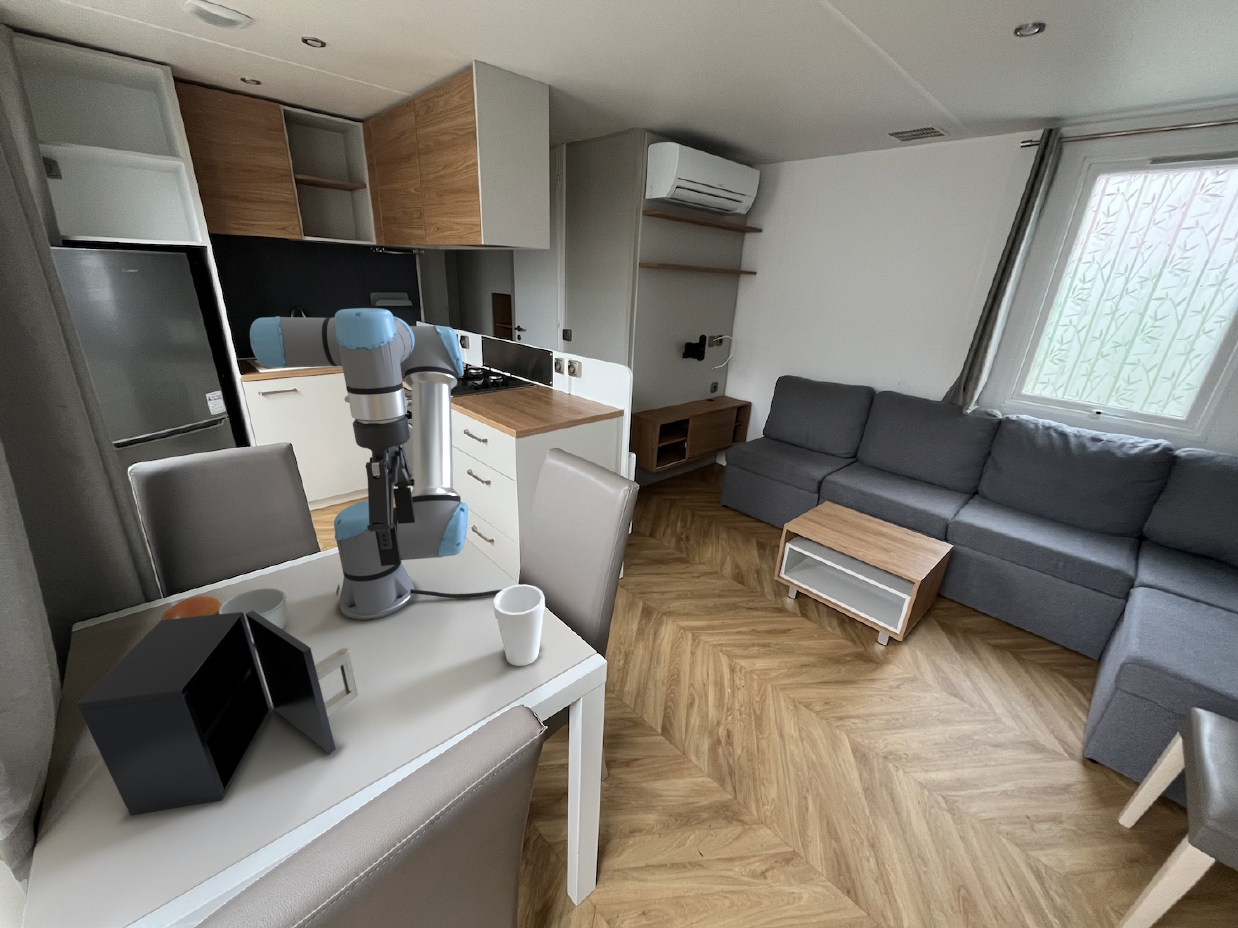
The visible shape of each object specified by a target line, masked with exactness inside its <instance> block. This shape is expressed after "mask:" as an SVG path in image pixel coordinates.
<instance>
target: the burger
mask: <svg viewBox="0 0 1238 928" xmlns="http://www.w3.org/2000/svg"><path fill="white" fill-rule="evenodd" d="M222 604H223V603H222V602H221V600H220V599H219V598H216V597H214V596H208V595H198V596H193V597H189V598H186V599H184V600H182V601H180V602H178V603H176V604H174V605H172V606H171V607H169V608H168V609H166V611H164V613H162V615H161V617H160V621H161V620H168V619H178V618H187V617H197V616H207V615H217V614H219V609H220V607H221V605H222Z"/></svg>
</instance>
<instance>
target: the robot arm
mask: <svg viewBox="0 0 1238 928" xmlns="http://www.w3.org/2000/svg"><path fill="white" fill-rule="evenodd" d="M249 340H250V347H251V350H252V352H253V355H254V356H255V358H256V359H257V361H258V362H259V363H260V364H262V365H263V366H265V367H271V368H283V369H287V368H342V371H343V377H344V382H345V389H346V392H347V395H345V397H344V399H343V400H344V402H346V403H349V409H350V415H351V417H352V418H353V419H354V420H353V422H352V428H353V434H354V439H355V444H356V445H357V446H358V447H360V448H362V449H368V450H370V451H371V456H370V457H369V461H367V462H366V463H365V470H366V477H367V478H366V479H367V497H368V498H367V499H365V500H361V501H359V502H356V503H353V504H350V505H349V506H347V507H345V508H344V509H342V510H341V511H339V513H337V515H336V516H335V517H334V520H333V527H334V528H333V529H334V539H335V541H336V545H337V550H338V555H339V559H340V564H341V568H342V573H343V580H342V585H341V586H340V583H338V584H337V587H336V591H335V594H336V598H338V596H339V595H340V596H339V607H340V611H341V613H342V614H343V615H344V616H345V617H346V618H349V619H352V620H355V621H356V620H357V621H370V620H377V619H381V618H384V617H387V616H390V615H392V614H393V615H394V614H395V613H397V612H399V611H400V610H402V609H404V608H405V607H406V606H408V604H410V603H411V602H412V601H413V598H414V596H415V595H422V596H432V597H440V598H446V599H469V598H470V599H471V598H481V597H488V596H494V595H495V596H496V594H497V593H499V592H500V591H502V590H503V589H496V590H495V589H494V590H490V591H489V590H487V591H482V592H471V593H446V592H438V591H431V590H422V589H420V590H419V589H415V585H414V582H413V580H412V578H411V576H410V575H409V573H408V572H407V570H406V568H405V567H404V565H403V563H402V561H411V560H422V559H435V558H436V559H437V558H439V559H441V558H443V557H453V556H457V555H459V554H460V553H461V552H462V551H463V549H464V548H465V545H466V539H467V533H468V525H469V506H468V504H467V503H466V502H465V501H464V502H463V501H462V500H461V498H462V497H461V494H460V493H458V492H457V491H456V490H455V489H454V461H453V458H454V457H453V429H452V427H453V425H452V389H454V388H455V387H456V386H457V384H458V378H459V377H461V376H464V374H465V373H464V364H463V363H464V362H463V358H462V354H461V348H460V343H459V340H458V335H457V332H456V331H455V330H454V329H453V328H452V327H450V326H440V325H436V324H435V325H409V324H408V323H407V322H406V321H404V320H403V319H401V318H400V317H397V316H394V315H393V313H392V312H391V310H388V309H386V308H375V307H373V308H372V307H359V308H342V309H340V310H338V311H336V312H335V314H334V317H301V316H300V317H295V316H293V317H290V316H289V317H288V316H277V315H276V316H271V317H270V316H268V317H259V318H256V319H255V320H254V321H252V323H251V326H250V328H249ZM403 379H404V380H403ZM403 381H404V383H405V384H406V385H407V386H408V387H409V388H410V389H411V432H410V426H409V425H410V424H409V418H408V417H407V416H406V415H405V414H407V412H408V408H407V401H406V394H405V388H404V383H403ZM410 438H411V439H410ZM409 440H411V443H412V444H411V445H412V447H411V448H412V449H411V451H412V458H411V459H412V471H411V467H410V464H409V460H408V457H407V454H406V451H405V447H404V444H406V443H408V442H409ZM411 487H412V488H411ZM394 504H395V505H394ZM340 589H341V590H340ZM339 593H340V594H339Z"/></svg>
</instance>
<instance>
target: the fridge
mask: <svg viewBox="0 0 1238 928" xmlns="http://www.w3.org/2000/svg"><path fill="white" fill-rule="evenodd" d="M255 650H256V649H255V646H254V644H253V643H252V640H251V637H250V633H249V630H248V626H247V623H246V620H245V616H244V613H243V612H237V613H227V614H217V615H207V616H197V617H187V618H178V619H168V620H161V619H160V620H159V622H158V623H157V624H156V625H154V627H153V628H151V630H149V632H147V634H145V635H144V636H143V637H142V639H140V640H139V641H138V642H137V643H136V644H135V646H133V648H131V649H130V650H129V651H128V652H127V653H126V654H125V655H124V656H123V657H122V659H120V660H119V661H118V662H117V663H116V664H115V665H114V666H113V667H112V668H111V669H110V670H109V671H108V672H107V673H106V674H104V676H103V677H102V678H101V679H100V680H99V681H98V682H97V683H96V684H95V685H94V686H93V687H91V689H90V690H89V691H88V692H87V693H86V694H85V695H84V696H83V697H82V698H81V699H80V700H79V701H77V703H76V706H77V708H78V710H79V712H80V713H81V716H82V718H83V720H84V723H85V724H86V726H87V728H88V730H89V731H88V732H90V735H91V738H92V739H93V741H94V742H95V745H96V747H97V749H98V751H99V753H100V756H101V758H102V761H103V762H104V764H105V766H106V768H107V770H108V773H109V774H110V776H111V779H112V780H113V783H114V784H115V787H116V789H117V791H118V793H119V795H120V798H121V799H122V801H123V804H124V805H125V808H126V810H127V811H128V813H129V816H130V817H132V816H138V815H144V814H145V815H146V814H149V813H155V812H163V811H167V810H168V811H169V810H174V809H181V808H186V807H192V806H198V805H204V804H209V803H216V802H221V801H223V800H224V799H225V797H226V795H227V793H228V792H229V789H230V787H232V785H233V782H234V781H235V779H236V777H237V775H238V773H239V771H240V769H241V768H242V766H243V764H244V762H245V760H246V758H247V757H248V754H249V753H250V751H251V749H252V747H253V745H254V743H255V742H256V740H257V738H258V736H259V735H260V733H261V731H262V729H263V727H264V726H265V724H266V721H267V720H268V718H269V716H270V714H271V712H272V711H273V706H272V702H271V699H270V696H269V694H268V693H269V692H268V689H267V686H266V682H265V681H264V680H265V679H264V676H263V672H262V669H261V666H260V664H259V663H260V662H259V659H258V656H257V654H256V653H257V652H256V651H255Z"/></svg>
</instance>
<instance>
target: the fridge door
mask: <svg viewBox="0 0 1238 928" xmlns="http://www.w3.org/2000/svg"><path fill="white" fill-rule="evenodd" d="M246 617H247V620H248V623H249V627H250V630H251V633H252V637H253V640H254V644H253V645H254V648H255V650H256V653H257V654H256V655H257V658H258V661H259V663H260V664H259V665H260V668H261V671H262V675H263V678H264V680H265V685H266V688H267V692H268V693H269V694H268V695H269V698H270V702H271V705H272V708H273V710H274V711H275V712H276V713H277V714H278V715H280V716H281V717H283V719H285V720H286V721H287V722H289V723H290V724H291V725H292V726H293V727H295V728H296V729H298V731H300V732H301V733H302V734H304V735H305V736H306V737H307V738H309V739H310V740H311V741H312V742H314V743H315V744H316V745H318V746H319V747H320V748H321V749H322V750H324V751H325V752H326V753H327V754H328V755H331V754H333V752H335V751H336V750H337V749H336V745H335V739H334V737H333V732H332V729H331V724H330V720H329V718H330V717H331V716H333V715H334V714H335V713H337V712H338V711H339V710H341V709H342V708H344V707H345V706H346V705H348V704H350V703H351V702H352V701H353V700H355V699H356V698H357V697H358V695H359V692H358V688H357V684H356V683H357V682H356V677H355V673H354V668H353V664H352V660H351V655H350V650H349V648H347V647H343V648H340V649H338V650H337V651H335V652H334V653H331V655H329V656H327V657H325V658H324V659H322V660H321V661H319V662H317V663H316V664H315V660H314V657H313V652H312V648H311V647H310V646H309V645H307V644H305V643H304V642H303V641H301V640H299V639H298V638H296V637H295V636H293V635H291V634H290V633H288V632H287V631H285V630H284V629H281V628H279V627H278V626H276V625H274V624H273V623H271V622H270V621H268V620H267V619H265V618H264V617H262V616H261V615H259V614H257V613H256V612H254V611H253V610H252V611H250V612H248V613H246ZM338 668H339V669H340V673H341V677H342V681H343V687H344V688H343V689H341V691H339V692H338V693H336V694H335V695H334V696H332V697H330V698H329V699H327V700H326V701H325V699H324V696H323V692H322V688H321V685H320V684H321V683H320V680H321V679H322V678H325V677H326V676H328V675H329V674H331V673H332V672H333V671H335V670H337V669H338Z"/></svg>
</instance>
